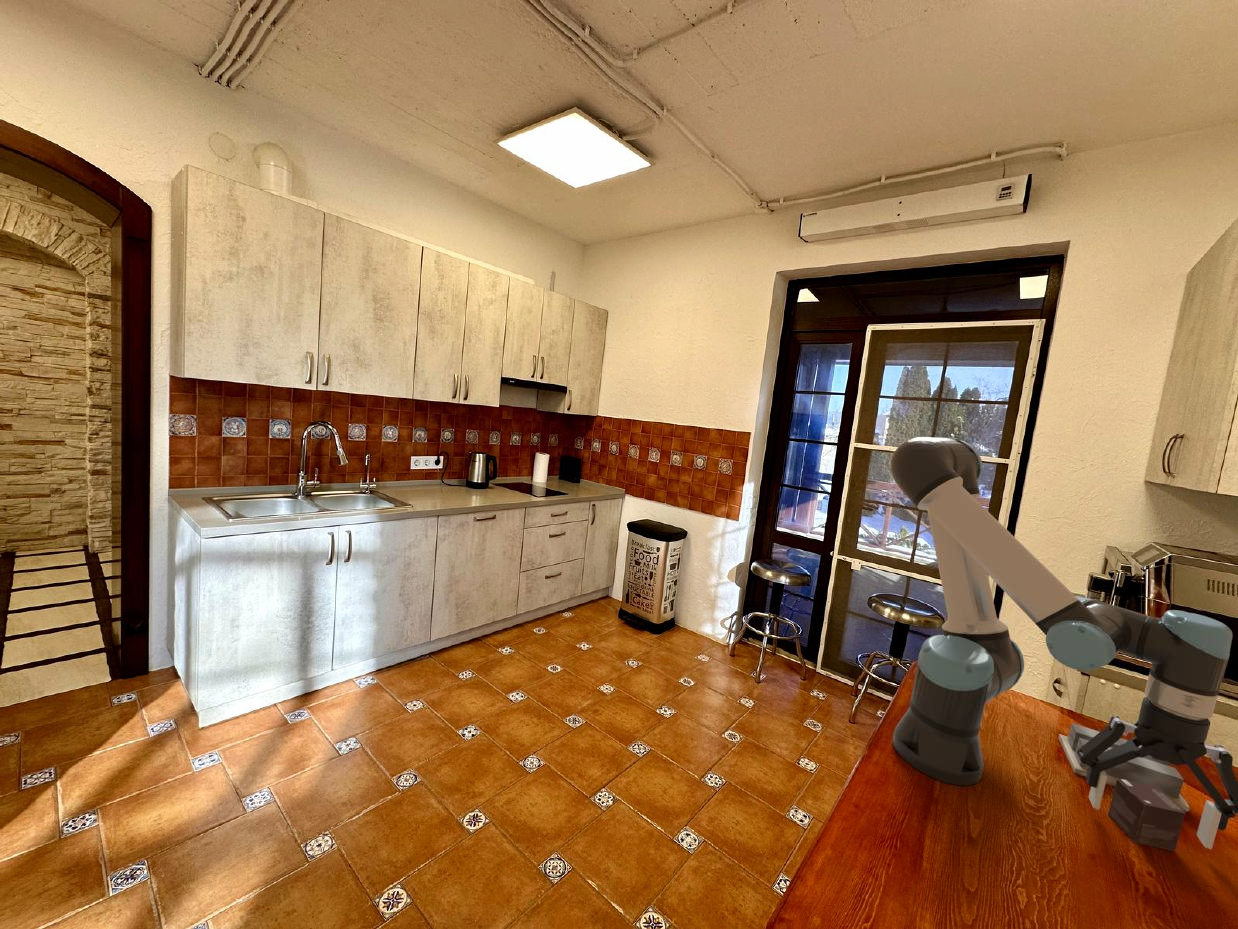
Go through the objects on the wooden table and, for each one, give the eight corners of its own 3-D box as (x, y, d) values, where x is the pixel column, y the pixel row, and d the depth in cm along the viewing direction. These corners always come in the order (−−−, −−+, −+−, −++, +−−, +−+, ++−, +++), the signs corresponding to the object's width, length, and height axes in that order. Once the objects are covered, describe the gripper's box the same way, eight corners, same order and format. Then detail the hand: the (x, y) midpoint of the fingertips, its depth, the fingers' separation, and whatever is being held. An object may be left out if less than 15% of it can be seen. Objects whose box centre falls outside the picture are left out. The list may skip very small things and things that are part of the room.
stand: (1074, 772, 99) (1080, 749, 98) (1058, 738, 110) (1063, 717, 109) (1188, 812, 92) (1195, 787, 91) (1159, 771, 102) (1166, 748, 101)
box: (1176, 853, 82) (1188, 813, 81) (1133, 843, 84) (1144, 804, 82) (1146, 822, 88) (1156, 785, 87) (1106, 813, 89) (1116, 777, 88)
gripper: (1083, 691, 85) (1057, 803, 88) (1308, 752, 73) (1270, 879, 76) (1070, 671, 91) (1047, 776, 94) (1275, 724, 79) (1241, 842, 82)
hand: (1146, 822), depth 85 cm, fingers open, 13 cm apart
